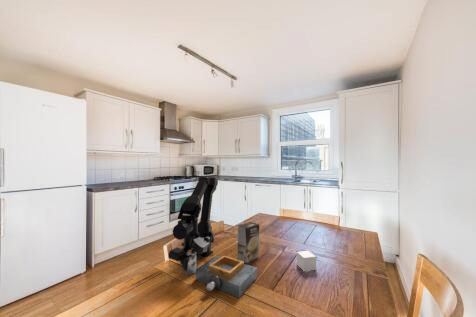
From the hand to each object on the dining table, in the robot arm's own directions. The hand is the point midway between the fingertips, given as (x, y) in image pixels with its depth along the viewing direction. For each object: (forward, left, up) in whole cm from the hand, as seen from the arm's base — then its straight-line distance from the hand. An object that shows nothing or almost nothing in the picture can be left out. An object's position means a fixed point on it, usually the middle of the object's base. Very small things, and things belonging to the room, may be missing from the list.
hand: (190, 267), depth 84 cm
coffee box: (-24, +15, -2) cm, 28 cm away
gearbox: (-2, +16, -2) cm, 16 cm away
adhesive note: (-30, +41, -2) cm, 51 cm away
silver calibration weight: (0, 0, -2) cm, 2 cm away
